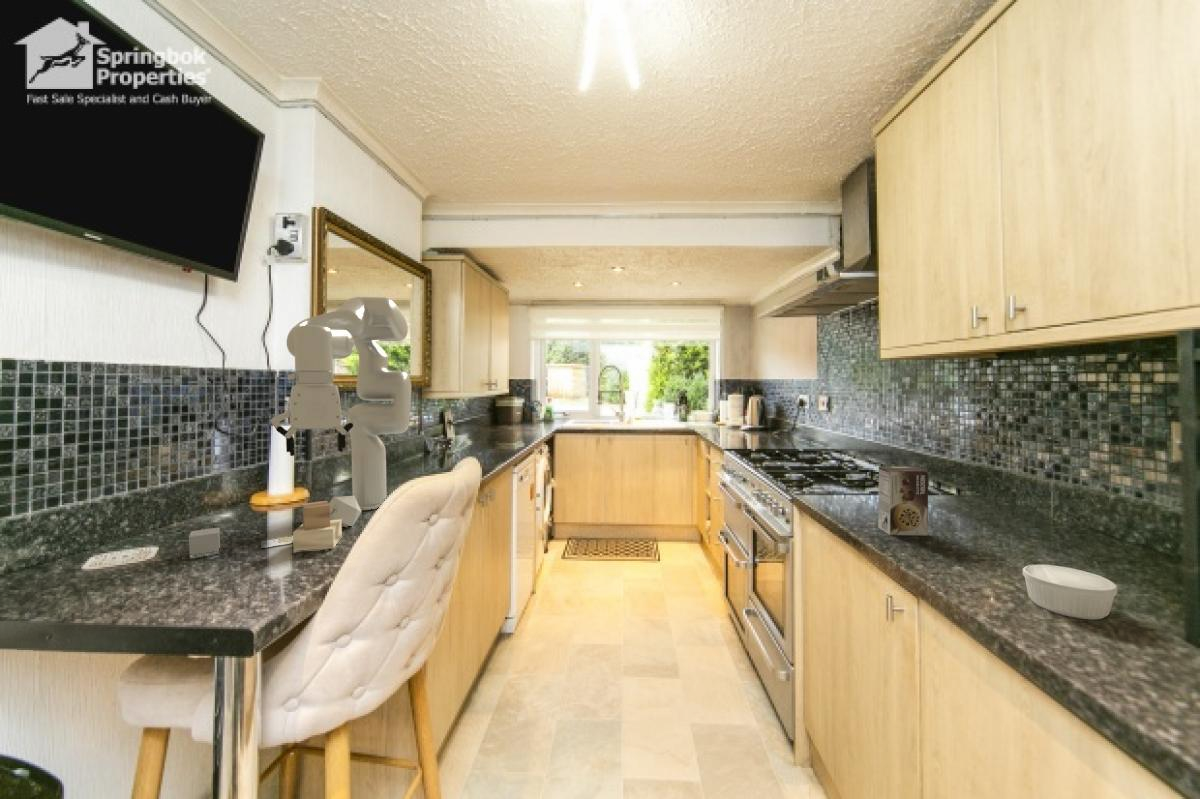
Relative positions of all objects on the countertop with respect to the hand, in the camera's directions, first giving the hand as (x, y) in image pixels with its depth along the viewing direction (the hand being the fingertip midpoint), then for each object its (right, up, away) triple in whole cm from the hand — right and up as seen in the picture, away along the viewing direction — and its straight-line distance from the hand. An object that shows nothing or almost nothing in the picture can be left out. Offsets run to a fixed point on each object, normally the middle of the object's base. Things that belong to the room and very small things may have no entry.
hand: (316, 453), depth 111 cm
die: (-2, -21, +16) cm, 27 cm away
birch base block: (0, -22, +1) cm, 22 cm away
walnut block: (0, -17, 0) cm, 17 cm away
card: (-10, -22, +3) cm, 24 cm away
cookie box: (+142, -21, +9) cm, 144 cm away
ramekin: (+144, -23, -31) cm, 149 cm away
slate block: (-22, -22, -4) cm, 32 cm away
